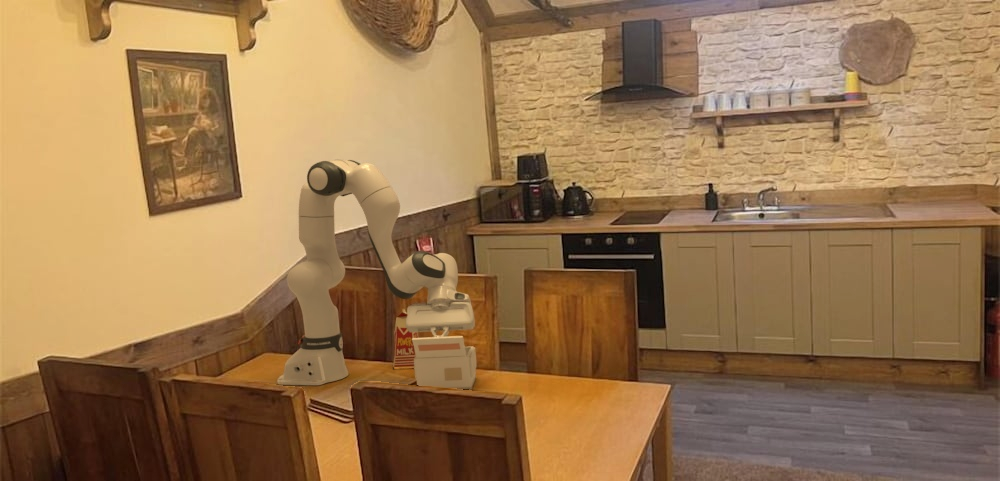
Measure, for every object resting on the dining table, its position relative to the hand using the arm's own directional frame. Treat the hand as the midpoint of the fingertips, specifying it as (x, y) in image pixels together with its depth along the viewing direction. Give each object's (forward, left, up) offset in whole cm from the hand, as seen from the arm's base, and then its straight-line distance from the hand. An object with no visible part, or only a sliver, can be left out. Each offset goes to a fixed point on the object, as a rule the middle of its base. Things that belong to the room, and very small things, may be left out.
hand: (439, 342), depth 210 cm
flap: (0, +1, -1) cm, 1 cm away
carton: (0, +9, -15) cm, 18 cm away
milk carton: (-17, +33, -16) cm, 40 cm away
